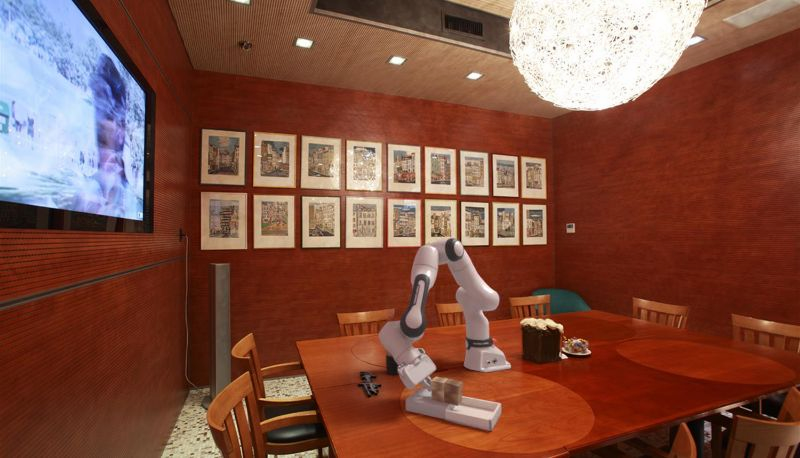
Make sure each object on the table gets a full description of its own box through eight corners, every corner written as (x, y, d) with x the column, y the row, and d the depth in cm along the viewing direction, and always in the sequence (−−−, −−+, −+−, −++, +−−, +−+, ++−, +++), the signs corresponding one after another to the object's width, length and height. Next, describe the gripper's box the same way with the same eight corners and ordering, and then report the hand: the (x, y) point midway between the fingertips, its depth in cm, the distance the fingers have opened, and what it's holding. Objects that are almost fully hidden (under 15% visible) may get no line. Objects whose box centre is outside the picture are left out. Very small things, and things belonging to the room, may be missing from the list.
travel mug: (400, 375, 172) (399, 332, 173) (384, 374, 173) (383, 331, 174) (403, 369, 179) (402, 328, 180) (388, 369, 181) (387, 327, 182)
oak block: (431, 400, 136) (431, 380, 136) (436, 395, 140) (435, 376, 140) (444, 402, 134) (443, 382, 134) (448, 397, 137) (448, 378, 138)
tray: (445, 420, 128) (445, 410, 128) (459, 404, 141) (458, 395, 141) (491, 431, 121) (491, 420, 121) (501, 413, 133) (501, 403, 133)
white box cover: (405, 410, 137) (405, 399, 137) (419, 397, 147) (419, 387, 147) (446, 419, 129) (446, 408, 129) (458, 405, 140) (457, 395, 140)
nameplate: (352, 372, 174) (373, 369, 177) (352, 375, 174) (373, 373, 177) (362, 395, 148) (386, 392, 151) (362, 399, 148) (386, 396, 151)
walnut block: (444, 402, 134) (445, 382, 133) (449, 397, 138) (450, 378, 137) (457, 406, 131) (458, 386, 131) (461, 401, 135) (462, 382, 135)
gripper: (400, 362, 133) (426, 395, 128) (424, 347, 151) (447, 375, 146) (390, 373, 135) (414, 405, 130) (415, 357, 153) (437, 385, 148)
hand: (432, 389), depth 138 cm, fingers closed, pressing on oak block
